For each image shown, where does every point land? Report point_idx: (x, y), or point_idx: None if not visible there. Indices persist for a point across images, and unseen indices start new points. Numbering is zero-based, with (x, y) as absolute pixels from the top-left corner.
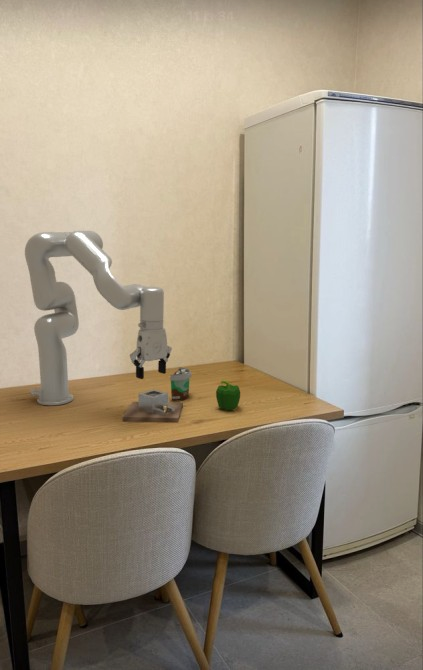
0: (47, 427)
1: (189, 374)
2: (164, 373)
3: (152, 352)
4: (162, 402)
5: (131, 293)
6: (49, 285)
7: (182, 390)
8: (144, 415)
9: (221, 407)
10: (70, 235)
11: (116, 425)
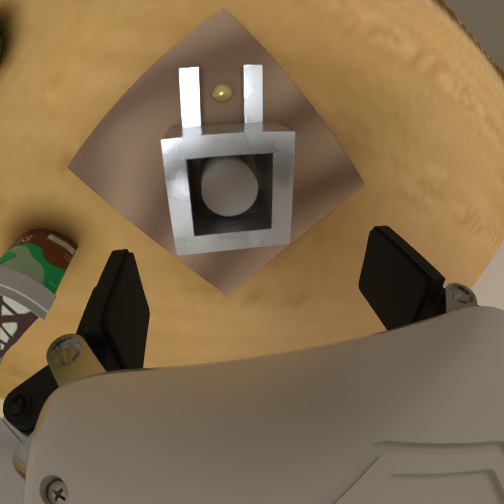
0: (449, 267)
1: None
2: (127, 250)
3: (501, 422)
4: (209, 127)
5: None
6: None
7: (27, 246)
8: (305, 132)
9: (1, 40)
10: None
11: (388, 163)
